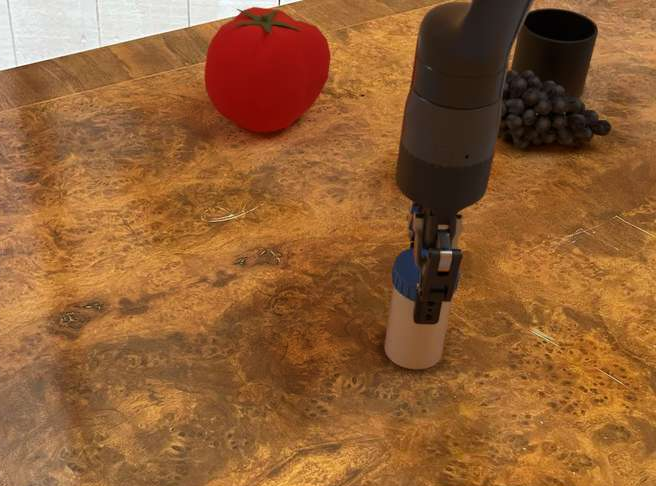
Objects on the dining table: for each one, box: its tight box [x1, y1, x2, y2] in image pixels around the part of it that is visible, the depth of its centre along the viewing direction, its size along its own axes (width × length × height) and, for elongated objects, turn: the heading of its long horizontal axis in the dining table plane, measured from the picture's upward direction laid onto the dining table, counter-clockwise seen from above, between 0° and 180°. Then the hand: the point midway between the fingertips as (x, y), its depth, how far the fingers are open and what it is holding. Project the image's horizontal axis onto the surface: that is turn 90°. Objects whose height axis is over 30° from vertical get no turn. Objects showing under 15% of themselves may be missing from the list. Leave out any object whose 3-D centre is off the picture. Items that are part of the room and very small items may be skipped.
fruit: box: [497, 69, 612, 150], centre depth 125 cm, size 9×8×15 cm
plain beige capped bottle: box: [383, 284, 455, 371], centre depth 97 cm, size 5×5×10 cm
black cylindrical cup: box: [510, 7, 599, 100], centre depth 136 cm, size 9×12×9 cm
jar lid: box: [391, 247, 461, 301], centre depth 94 cm, size 6×6×2 cm
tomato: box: [204, 6, 331, 133], centre depth 126 cm, size 16×14×14 cm
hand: (421, 297), depth 96 cm, fingers closed on jar lid, 5 cm apart
